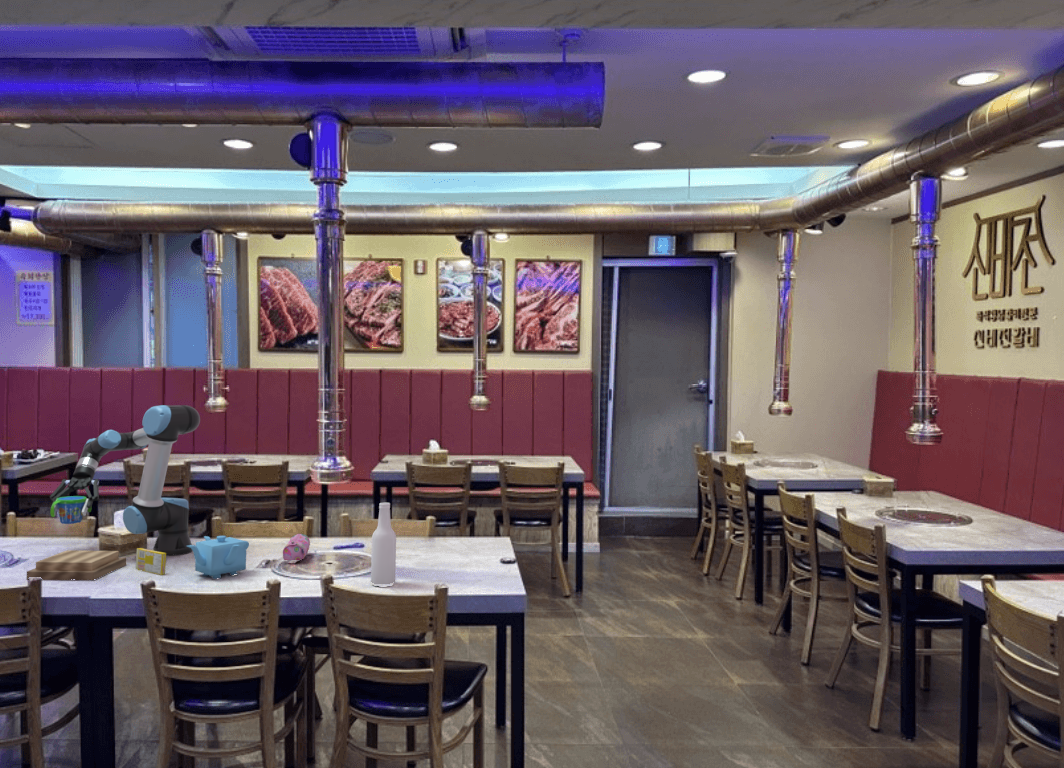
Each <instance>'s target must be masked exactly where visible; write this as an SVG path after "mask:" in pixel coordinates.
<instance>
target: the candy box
mask: <svg viewBox="0 0 1064 768" xmlns="http://www.w3.org/2000/svg"><path fill="white" fill-rule="evenodd" d="M135 558H136V559H135V570H136V569H138V570H137V571H140V570H142V571H141V572H146V573H150V574H154V575H158V576H163V575H164V576H165V575H166V565H167V564H166V563H167V556H166V553H163V552H158V551H153V549H148V548H143V547H140V548H138V547H137V548H136V557H135Z"/></svg>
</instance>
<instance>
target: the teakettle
mask: <svg viewBox="0 0 1064 768" xmlns="http://www.w3.org/2000/svg"><path fill="white" fill-rule="evenodd" d="M203 538H204V540H201V541H196V542H195V544H192V545H189V546H187V547H189V548H191V549H192V552H193V557H194V560H195V562H194V563H195V565H194V567H195V568H194V571H196V572H199V573H201V574H202V576H203V577H204V576H205V577H207V576H208V575H209V576H210V577H212V578H213V579H212V580H218V579H217V578H220V577H221V576H222V575H224V574H228V573H229V575H230V574H231V575H234V574H238V575H239V573H238V572H240V571H244V570H247V550H248V548H249V546H250V542H249V541H247V540H243V539H239V538H235V537H232V536H229V537H228V536H227V535H217V536H216V538H214V539H211V537H210V536H208V535H207V536H206V535H205V536H203ZM231 575H230V576H231ZM220 579H221V578H220Z"/></svg>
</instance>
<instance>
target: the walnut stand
mask: <svg viewBox="0 0 1064 768" xmlns="http://www.w3.org/2000/svg"><path fill="white" fill-rule="evenodd" d="M119 555H120V551H119V550H80V549H79V550H75V549H73V550H70V549H68V550H64V551H61V552H59V553H57V554H54V555H51V556H48V557H46V558H44V559H41V560H40V559H39V560H38V561H36V562H35V568H33V569H30V570H27V571H26V580H27V579H28V578H29V577H41V578H42V579H43V580H42V581H89V580H94V579H96V580H98V579H100V578H102V577H104V576H106V575H105V574H107V573H109V572H111V571H113V572H114V570H115V571H117V570H119V569H121V568H124V567H125V566H127V557H122V556H121V557H120V556H119ZM120 567H121V568H120ZM118 568H119V569H118ZM116 569H117V570H116ZM111 573H112V572H111ZM109 574H110V573H109ZM103 575H104V576H103ZM107 575H108V574H107ZM101 576H102V577H101ZM99 577H100V578H99ZM97 578H98V579H97ZM71 579H72V580H71ZM73 579H75V580H73ZM94 581H95V580H94Z"/></svg>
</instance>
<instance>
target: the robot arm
mask: <svg viewBox="0 0 1064 768" xmlns="http://www.w3.org/2000/svg"><path fill="white" fill-rule="evenodd" d="M200 423H201V417H200V413H199V412H198V409H197V410H196V408H194V407H193V406H190V405H186V404H185V405H184V404H182V405H181V404H180V405H178V404H177V405H176V404H175V405H165V404H164V405H163V404H161V405H154V406H151V407H150V408H148V409H147V410H146V411H145V413H144V415H143V418H142V424H141V425H142V426H143V427H142V428H139V429H137V430H134V431H130V432H119V431H116V430H114V429H107V430H105V431H104V432H102V433H101V434H100V435H99V436H97V437H96V438H95V437H93V438H89V439H88V440H87V441H86V443H85V444H84V446H83V449H82V452H81V455H80V457H79V459H78V462H77V463H76V466H75V469H74V472H73V474H72V477H71V479H66V478H63V479H62V480H61V483H60V484H59V485H58V486H57V488H56V489H55V490H54V491H53V492H52V493H51V495H49V498H50V500H51V501H52V504H53V503H54V502H55V501H56V499H57V498H60V497H67V495H68V496H69V494H70V493H73V492H75V491H78V490H81V491H84V490H85V493H86V495H87V497H88V499H86V501H85V504H84V507H83V509H82V514H83V517H84V516H87V513H88V511H87V510H88V508H91V506H92V505H93V503H94V502H95V501H96V502H98V501H99V500H100V496H99V485H100V480H99V479H98V478H95V479H94V477H95V474H96V472H97V469H98V467H99V464H100V461H101V459H102V457H104V456H106V455H107V454H108V453H109V452H116V451H125V450H126V451H127V450H142V449H145V448H147V451H146V455H145V456H146V457H145V459H144V465H143V469H142V470H143V471H142V475H141V479H140V484H139V489H138V494H137V495H136V496H134V497H133V498H132V501H131V505H128V506H127V507H126V508H125V509H123V512H122V521H123V524H124V527H125V529H126V530H127V532H129V533H130V534H134V535H140V534H141V535H143V534H147V533H151V532H152V533H153V532H156V531H158V532H157V537H156V540H155V542H154V545H153V549H152V550H153V551H158V552H163V553H166V557H168V556H180V555H184V554H185V555H186V554H189V552H190V553H191V552H193V550H192V549H191V548H189V547H187V546H189V545H193V544H192V542H191V538H190V535H189V516H190V514H189V510H190V508H189V507H190V506H189V500H188V499H186V498H178V497H162V494H163V490H164V485H165V480H166V475H167V472H168V471H167V470H168V467H169V462H170V456H171V452H172V447H173V444H174V443H176V442H177V441H178V439H179V435H185V434H188V433H192V432H194V431H195V430H197V428H198V427H199V425H200ZM91 485H93V495H92V494H91V491H90V490H89V487H90V486H91ZM52 504H51V505H52ZM58 511H59V510H58V505H57V504H56V505H55V511H54V514H55V516H56V515H57V512H58Z"/></svg>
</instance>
